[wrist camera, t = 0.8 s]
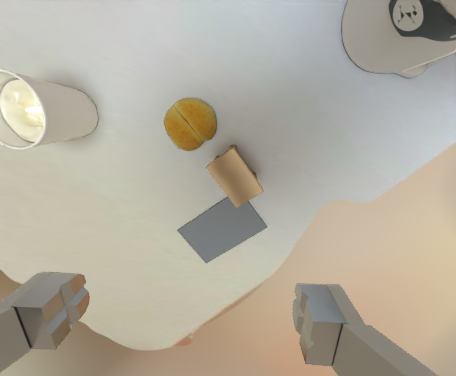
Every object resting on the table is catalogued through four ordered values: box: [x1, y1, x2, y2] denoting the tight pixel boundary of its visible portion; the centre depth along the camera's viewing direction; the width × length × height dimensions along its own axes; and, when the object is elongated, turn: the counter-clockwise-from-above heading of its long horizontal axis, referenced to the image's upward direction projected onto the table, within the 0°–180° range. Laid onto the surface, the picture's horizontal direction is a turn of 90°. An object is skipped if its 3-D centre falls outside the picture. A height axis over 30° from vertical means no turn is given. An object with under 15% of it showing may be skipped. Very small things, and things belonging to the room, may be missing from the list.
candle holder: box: [0, 69, 98, 150], centre depth 33 cm, size 10×10×12 cm
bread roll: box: [164, 98, 216, 151], centre depth 36 cm, size 8×9×4 cm
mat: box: [177, 197, 267, 263], centre depth 44 cm, size 16×10×1 cm, turn 126°
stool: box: [206, 145, 263, 208], centre depth 36 cm, size 5×8×8 cm, turn 36°
